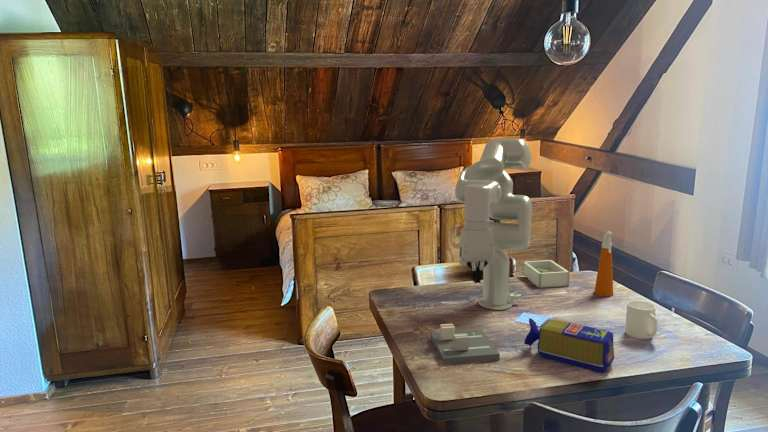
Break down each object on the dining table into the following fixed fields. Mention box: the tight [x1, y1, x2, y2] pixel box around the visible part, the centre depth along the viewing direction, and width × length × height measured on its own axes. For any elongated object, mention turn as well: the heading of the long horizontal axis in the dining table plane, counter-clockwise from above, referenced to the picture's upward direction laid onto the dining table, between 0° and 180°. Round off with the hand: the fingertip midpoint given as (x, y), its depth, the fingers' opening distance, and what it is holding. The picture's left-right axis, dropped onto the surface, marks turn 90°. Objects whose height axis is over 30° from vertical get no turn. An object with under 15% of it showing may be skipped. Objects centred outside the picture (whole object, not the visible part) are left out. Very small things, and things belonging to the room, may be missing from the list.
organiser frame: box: [522, 259, 570, 289], centre depth 229 cm, size 13×18×6 cm
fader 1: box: [439, 323, 456, 340], centre depth 169 cm, size 4×3×4 cm
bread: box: [523, 317, 615, 374], centre depth 158 cm, size 10×25×10 cm, turn 53°
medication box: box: [535, 268, 553, 273], centre depth 231 cm, size 12×3×4 cm, turn 40°
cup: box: [624, 300, 658, 340], centre depth 171 cm, size 8×12×10 cm
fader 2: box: [453, 333, 469, 351], centre depth 162 cm, size 4×3×4 cm
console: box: [430, 329, 501, 365], centre depth 166 cm, size 17×18×2 cm
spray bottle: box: [594, 231, 614, 297], centre depth 208 cm, size 7×11×26 cm, turn 167°
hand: (476, 281), depth 167 cm, fingers closed
